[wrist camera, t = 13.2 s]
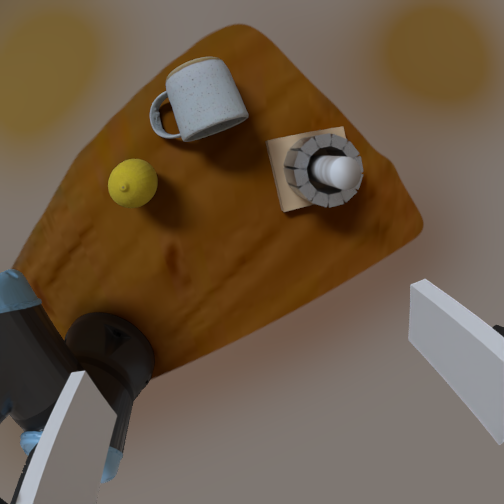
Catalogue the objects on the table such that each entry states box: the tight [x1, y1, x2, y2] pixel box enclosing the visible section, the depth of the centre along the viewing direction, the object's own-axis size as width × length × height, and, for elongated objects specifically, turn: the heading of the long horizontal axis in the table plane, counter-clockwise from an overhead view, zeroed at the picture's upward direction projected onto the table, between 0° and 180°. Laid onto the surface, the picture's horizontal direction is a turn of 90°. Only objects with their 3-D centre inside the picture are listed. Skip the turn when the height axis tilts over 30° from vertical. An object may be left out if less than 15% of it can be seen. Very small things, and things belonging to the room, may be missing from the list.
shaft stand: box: [265, 127, 361, 212], centre depth 32 cm, size 10×9×11 cm
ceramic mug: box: [150, 57, 248, 142], centre depth 29 cm, size 11×8×8 cm
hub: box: [283, 133, 363, 208], centre depth 33 cm, size 8×8×5 cm
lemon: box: [108, 159, 158, 208], centre depth 31 cm, size 6×6×8 cm
